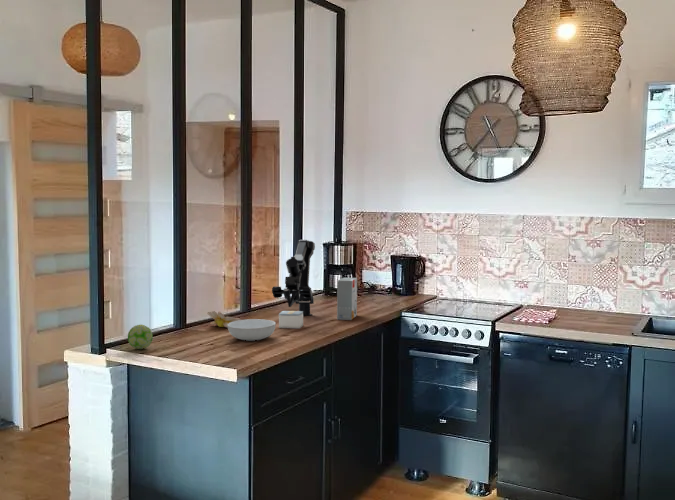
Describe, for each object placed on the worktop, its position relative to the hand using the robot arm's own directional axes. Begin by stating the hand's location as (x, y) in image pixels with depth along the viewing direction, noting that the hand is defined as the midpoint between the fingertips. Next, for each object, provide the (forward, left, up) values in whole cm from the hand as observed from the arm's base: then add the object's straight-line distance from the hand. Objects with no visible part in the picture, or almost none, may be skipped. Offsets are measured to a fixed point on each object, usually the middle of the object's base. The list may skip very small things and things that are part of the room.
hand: (289, 306), depth 322 cm
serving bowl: (+13, -25, -10) cm, 30 cm away
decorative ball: (+8, -72, -10) cm, 73 cm away
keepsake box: (-3, +2, -10) cm, 11 cm away
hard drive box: (-9, +38, -10) cm, 40 cm away
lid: (-3, +2, -4) cm, 5 cm away
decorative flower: (-19, -25, -10) cm, 33 cm away
